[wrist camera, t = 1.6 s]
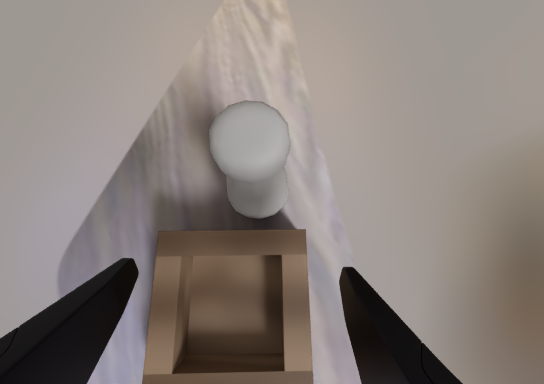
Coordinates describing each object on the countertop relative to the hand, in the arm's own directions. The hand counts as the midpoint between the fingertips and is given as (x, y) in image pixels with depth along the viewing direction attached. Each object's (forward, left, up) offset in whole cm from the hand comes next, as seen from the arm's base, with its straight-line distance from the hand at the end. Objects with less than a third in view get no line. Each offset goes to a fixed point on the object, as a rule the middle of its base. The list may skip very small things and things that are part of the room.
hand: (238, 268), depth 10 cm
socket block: (-4, +2, -12) cm, 13 cm away
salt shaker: (+6, 0, -13) cm, 14 cm away
